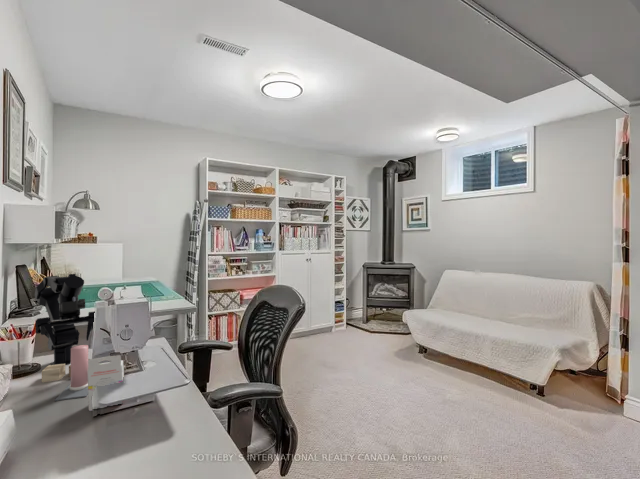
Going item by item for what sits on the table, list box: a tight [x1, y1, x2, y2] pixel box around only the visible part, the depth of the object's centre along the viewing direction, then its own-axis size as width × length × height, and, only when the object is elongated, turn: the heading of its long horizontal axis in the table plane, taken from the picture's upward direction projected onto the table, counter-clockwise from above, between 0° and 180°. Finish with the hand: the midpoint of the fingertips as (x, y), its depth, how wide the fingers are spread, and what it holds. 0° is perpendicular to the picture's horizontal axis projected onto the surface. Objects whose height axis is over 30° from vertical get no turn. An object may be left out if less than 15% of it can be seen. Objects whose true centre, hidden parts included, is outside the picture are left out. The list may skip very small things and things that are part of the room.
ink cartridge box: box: [87, 354, 125, 412], centre depth 97 cm, size 9×5×15 cm, turn 115°
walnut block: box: [68, 358, 90, 378], centre depth 119 cm, size 6×4×4 cm, turn 12°
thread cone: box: [70, 344, 89, 391], centre depth 107 cm, size 5×5×13 cm
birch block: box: [41, 364, 66, 383], centre depth 115 cm, size 5×5×4 cm
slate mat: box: [54, 382, 88, 402], centre depth 107 cm, size 14×8×1 cm, turn 18°
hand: (71, 342), depth 114 cm, fingers open, 9 cm apart
